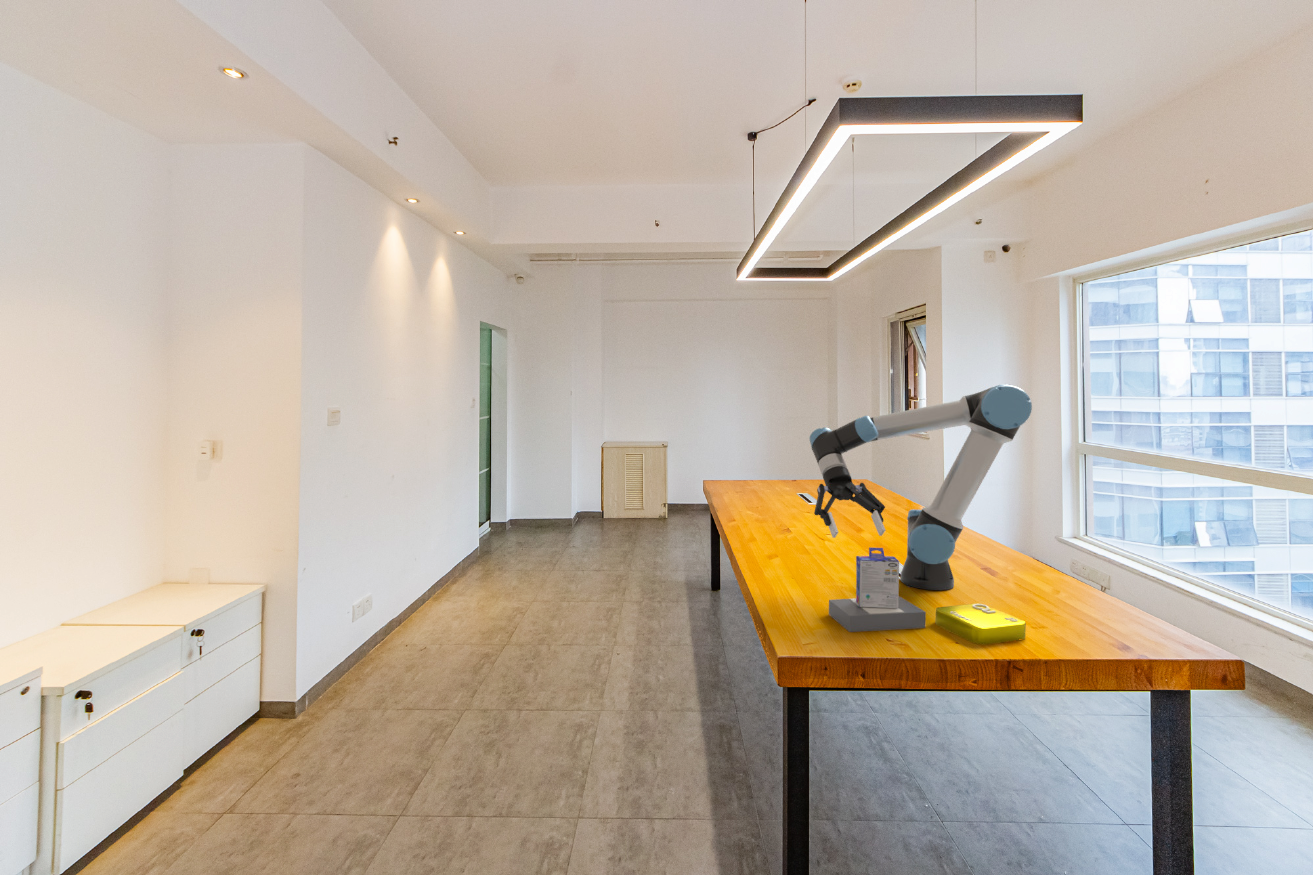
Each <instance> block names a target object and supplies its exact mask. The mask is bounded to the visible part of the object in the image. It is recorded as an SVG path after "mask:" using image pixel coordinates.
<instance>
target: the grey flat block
mask: <svg viewBox="0 0 1313 875" xmlns="http://www.w3.org/2000/svg"><path fill="white" fill-rule="evenodd" d="M926 613H927V612H926V611H925V610H923V609H921V608H919V606H916V605H914V604H913V603H911V602H910V601H908V600H907V599H904V598H903V597H902V596H899V597H898V608H880V607H859V606H858V604H857V602H856V597H855V598H839V599H837V598H836V599H829V600H828V616H830V617H831V618H832V619H833V620H834V621H836V622H837V623H838V624H839V625H841V627H843V628H844V629H846V630H847V631H848V632H849V633H854V632H855V633H857V632H873V631H876V632H877V631H890V630H891V631H893V630H906V629H907V630H909V629H912V630H913V629H925V628H926V624H927V623H926V620H927V619H926V618H927V617H926V616H927V614H926Z"/></svg>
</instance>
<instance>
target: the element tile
mask: <svg viewBox="0 0 1313 875" xmlns="http://www.w3.org/2000/svg"><path fill="white" fill-rule="evenodd" d="M934 620H935V625H937V626H938V627H940V628H942V629H944V630H946V631H948V632H950V633H952V634H954V635H955V636H958V637H959V638H962V639H963V640H966V641H968V642H970V643H972V644H975V645H984V646H985V645H992V644H999V643H1007V641H1009V642H1014V640H1016V641H1020V640H1019V639H1023V640H1025V639H1026V631H1027V629H1026V628H1027V626H1026V623H1027V622H1026V621H1024V620H1022V619H1020V618H1018V617H1015V616H1013V615H1011V614H1008V613H1006V612H1003V611H1001V610H998V609H997V608H993V607H990V606H989V605H986V604H983V603H979V602H977V603H968V604H959V605H949V606H940V607H939V606H938V607H936V608H935V619H934ZM1024 638H1025V639H1024Z"/></svg>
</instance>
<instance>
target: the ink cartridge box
mask: <svg viewBox="0 0 1313 875" xmlns="http://www.w3.org/2000/svg"><path fill="white" fill-rule="evenodd" d="M874 551H878V552H880V553H876V552H875V553H874ZM868 554H869V555H856V556H855V558H856V559H855V560H856V561H855V563H856V565H855V568H856V570H855V573H856V574H855V575H856V581H855V583H856V585H855V586H856V589H855V590H856V594H855V598H856V602H857V604H858V606H859V607H880V608H898V597H899V591H900V590H899V589H900V588H899V587H900V584H899V581H900V580H899V579H900V561H899V559H897V558H896V557H895V556H889V555H885V552H884V548H883V547H868Z"/></svg>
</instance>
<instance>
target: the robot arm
mask: <svg viewBox="0 0 1313 875" xmlns="http://www.w3.org/2000/svg"><path fill="white" fill-rule="evenodd" d="M1032 409H1033V406H1032V400H1031V398H1030V396H1029V394H1028V393H1027V392H1026V391H1024V390H1023V389H1022V388H1020V387H1018V386H1017V385H1016V386H1015V385H1012V384H1006V383H1005V384H999V385H995V386H991V387H989V388H987V389H984V390H982V391H979V392H975V393H972V394H968V395H963V396H961V398H960V399H959V400H954V401H950V402H944V403H939V404H933V405H929V406H924V407H923V406H922V407H919V408H913V409H908V410H903V411H897V412H893V413H888V414H887V413H886V414H882V415H878V416H877V415H876V416H873V417H870V416H869V415H864V416H861V417H859V418H856V419H855V420H853V421H851V422H848V423H846V424H844V425H842V426H840V427H838V428H836V429H833V430H832V429H830V428H828V427H821V428H820V427H819V428H816V429H815V430H813V431H812V432H811V433H810V435H809V443H810V447H811V450H812V453H813V455H814V457H815V461H816V463H817V466H818V469H819V470H820V474H821V476H822V478H823V481H824V483H825V485H824V484H823V483H819V485H818V487H817V489H816V491H817V499H816V503H815V508H814V512H813V514H814V515H815V516H819V518H820V519H822V520H823V523H824V525H825V526H826V527H828V529H829V532H830V535H831V536H832V539H833V538H836V537H837V535H838V534H839V530H838V527H837V524H836V522H835V519H834V517H833V514H832V512H831V511H829V510H830V509H831V507H832V506H833V504H834V502H835V500H837V501H843V500H844V501H851V502H852V503H856V504H858V505H859V506H861V507H862V508H864V509H865V510H866V511H868V512H869V513H870V514H871V519H872V522H873V524H874V527H875V529H876V531H877V534H878V535H879V536H880V537H883V535H884V533H885V532H886V528H885V525H884V524H883V522H884V517H883V515H882V513H883V511H884V510H885V508H886V506H885V505H884V504H883V502H881V500H879V499H878V498H877V497H876V496H875V495H874V494H873V493H872V492H871V491H870V490H869V489H868V488H867V487H866V484H865V483H864V482H860V484H855V483H854V482H853V480H852V476H851V474H850V471H849V469H848V466H847V464H846V462H845V458H844V457H843V455H842V454H845V453H847V452H848V451H851V450H853V449H855V448H858V447H861V446H863V445H865V444H866V443H869V442H870V443H871V442H876V441H882V440H887V439H892V438H898V437H904V436H910V435H914V434H919V433H920V434H923V433H926V432H933V431H939V430H944V429H949V428H955V427H961V426H966V427H968V428H970V432H969V434H968V436H967V437H966V439H965V441H964V443H963V445H962V447H961V449H960V450H959V452H958V454H957V456H956V458H955V460H954V462H953V464H952V465H951V467H950V469H949V471H948V473H947V474H946V477H945V478H944V480H943V483H942V484H941V485H940V487H939V489H938V491H937V493H936V495H935V497H934V499H933V501H932V502H931V504H930V505H928V506H925V507H923V508H921V509H909V510H908V514H907V516H906V517H907V519H906V520H907V542H906V543H907V546H906V547H907V548H906V549H907V550H906V559H905V561H904V563H903V567H902V569H901V572H900V582H901V583H903V584H904V585H906V586H909V587H911V588H916V589H921V590H930V591H945V590H946V591H947V590H951V589H953V588H954V586H955V579H954V575H953V573H952V569H951V565H950V562H949V559H950V558H951V556H952V555H953V554H954V552H955V549H956V542H957V541H958V538H959V537H960V535H961V533H962V531H963V530H964V525H963V522H962V519H963V517H964V515H965V514H966V512H967V510H968V508H969V507H970V505H971V504H972V503H971V502H972V501H973V499H974V497H975V496H976V494H977V491H978V490H979V488H980V487H981V484H982V482H983V481H984V480H985V477H986V475H987V474H988V472H989V470H990V468H991V467H992V465H993V463H994V461H995V459H996V458H997V456H998V453H999V452H1000V450H1001V449H1002V447H1003V445H1004V444H1007V443H1009V442H1010V443H1011V442H1012V441H1013V440H1014V438H1015V436H1016V435H1017V433H1018V431H1019V429H1020V428H1021V426H1022V425H1024V424H1025V423H1026V422H1027V421H1028V420H1029V418H1030V416H1031V413H1032V411H1033V410H1032ZM826 492H827V493H828V494H830V495H831V496H830V498H829V500H828V501H827V503H826V505H825V506H824V508H823V507H822V506H823V502H824V498H825V494H826ZM853 495H854V496H853Z"/></svg>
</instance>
